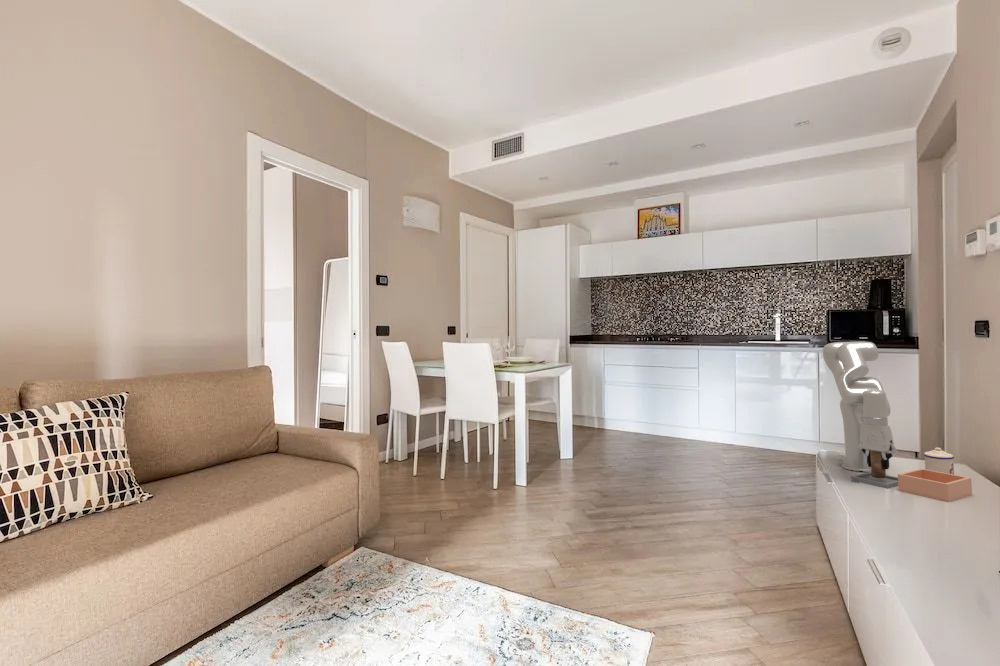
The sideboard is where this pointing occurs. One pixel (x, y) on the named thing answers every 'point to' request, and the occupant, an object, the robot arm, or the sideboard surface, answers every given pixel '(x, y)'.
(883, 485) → the grey tray
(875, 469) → the walnut dowel
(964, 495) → the terracotta open box
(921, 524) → the sideboard surface
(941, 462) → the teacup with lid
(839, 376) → the robot arm
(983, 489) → the sideboard surface
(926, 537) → the sideboard surface
